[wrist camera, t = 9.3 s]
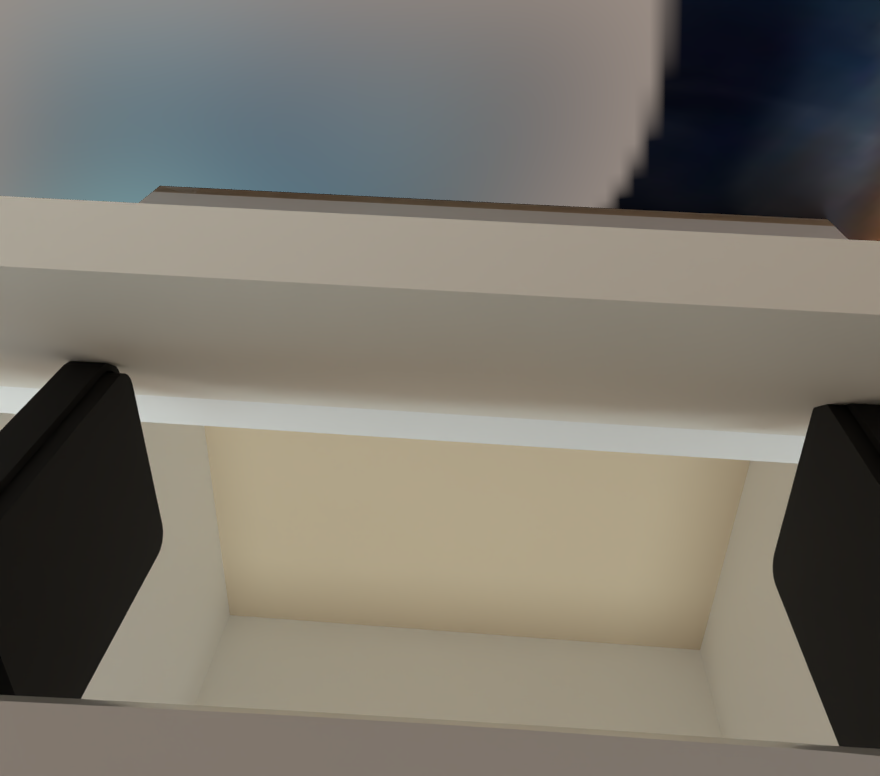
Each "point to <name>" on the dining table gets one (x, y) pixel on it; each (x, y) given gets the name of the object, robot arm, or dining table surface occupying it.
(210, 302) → the flap
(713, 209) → the dining table surface
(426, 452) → the carton
